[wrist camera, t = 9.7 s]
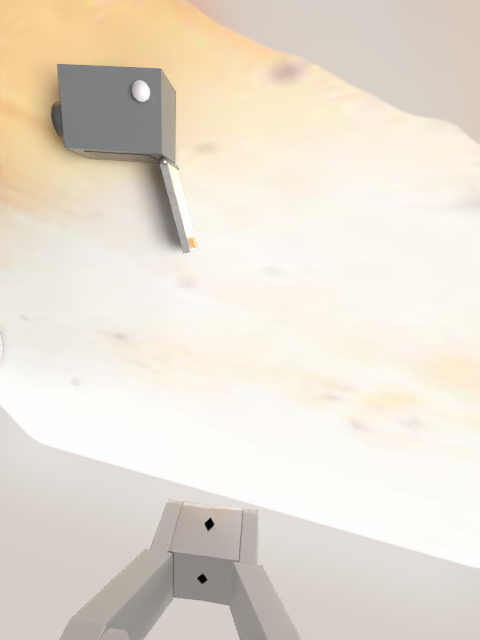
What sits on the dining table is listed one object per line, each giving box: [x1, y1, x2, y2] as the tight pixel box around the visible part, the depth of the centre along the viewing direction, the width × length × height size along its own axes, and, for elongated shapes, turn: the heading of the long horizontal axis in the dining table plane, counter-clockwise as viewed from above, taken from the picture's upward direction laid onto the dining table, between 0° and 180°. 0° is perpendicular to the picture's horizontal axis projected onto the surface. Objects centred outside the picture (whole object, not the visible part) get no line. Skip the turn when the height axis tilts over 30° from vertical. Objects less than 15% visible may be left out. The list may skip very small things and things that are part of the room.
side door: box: [158, 156, 198, 253], centre depth 33 cm, size 10×1×4 cm, turn 12°
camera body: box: [51, 64, 176, 164], centre depth 30 cm, size 12×7×5 cm, turn 86°
